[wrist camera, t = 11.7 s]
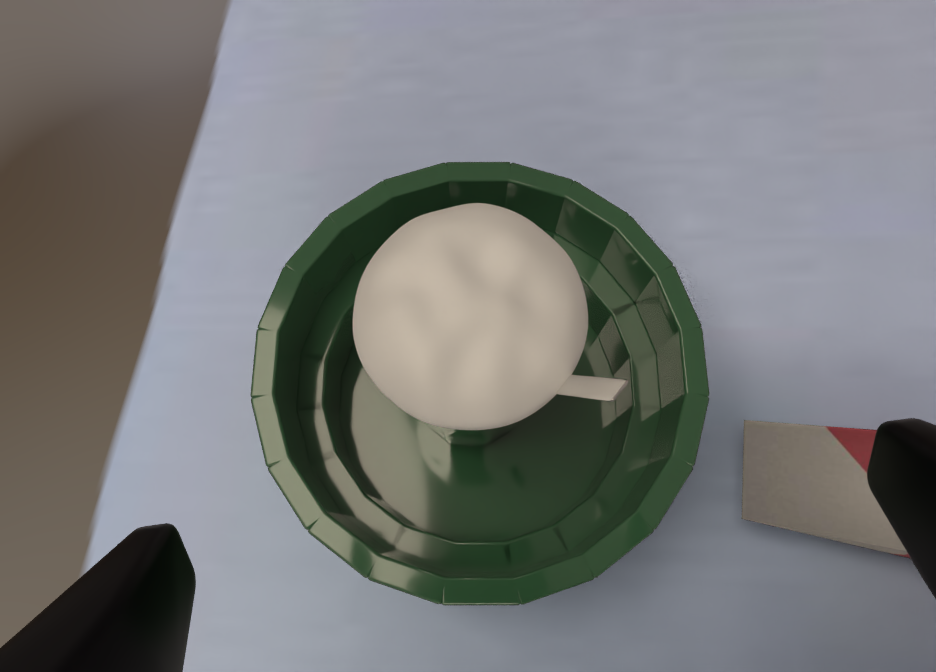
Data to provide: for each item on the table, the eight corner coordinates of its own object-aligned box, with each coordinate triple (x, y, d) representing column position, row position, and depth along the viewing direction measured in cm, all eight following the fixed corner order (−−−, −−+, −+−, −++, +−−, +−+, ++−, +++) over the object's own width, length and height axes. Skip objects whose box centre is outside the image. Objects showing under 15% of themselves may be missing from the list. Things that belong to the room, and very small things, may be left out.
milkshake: (501, 520, 19) (530, 506, 10) (367, 404, 20) (276, 291, 11) (594, 403, 20) (703, 288, 11) (462, 298, 21) (454, 108, 12)
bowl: (435, 671, 19) (423, 717, 14) (236, 363, 22) (169, 314, 17) (727, 439, 21) (804, 410, 16) (511, 181, 23) (521, 91, 19)
